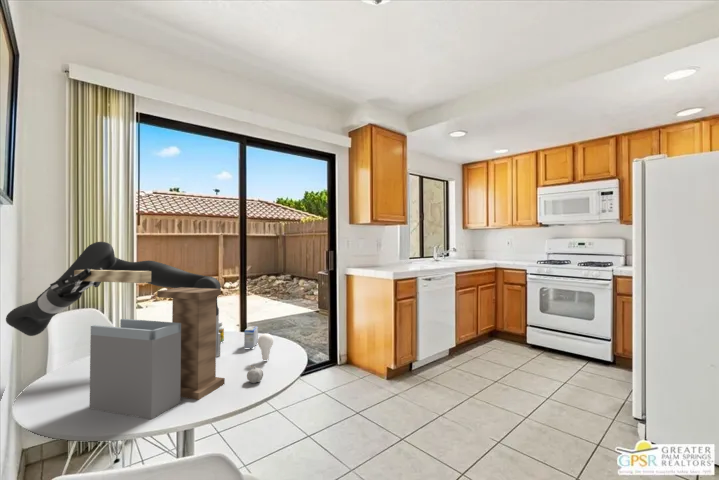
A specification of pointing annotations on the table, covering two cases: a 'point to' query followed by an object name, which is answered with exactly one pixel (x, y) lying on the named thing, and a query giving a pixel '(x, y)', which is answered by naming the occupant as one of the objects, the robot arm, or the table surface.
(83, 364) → the table surface
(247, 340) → the medicine box
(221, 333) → the supplement bottle
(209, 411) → the table surface
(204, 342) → the post
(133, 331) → the tray stand
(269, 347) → the lightbulb
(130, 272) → the tan wooden bar
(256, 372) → the garlic
